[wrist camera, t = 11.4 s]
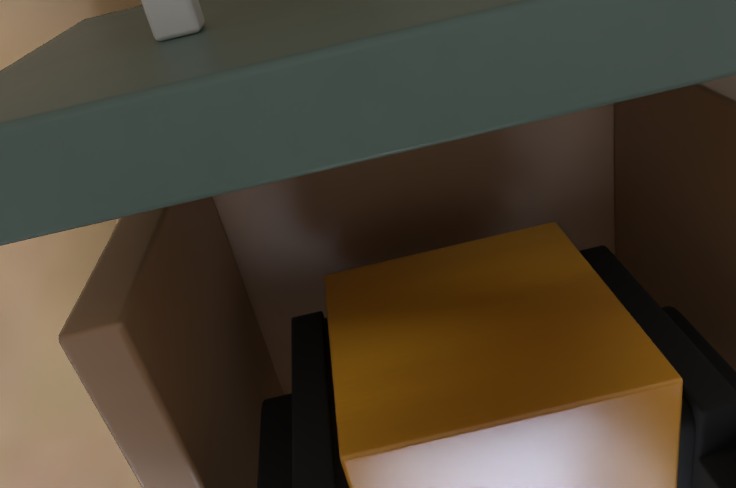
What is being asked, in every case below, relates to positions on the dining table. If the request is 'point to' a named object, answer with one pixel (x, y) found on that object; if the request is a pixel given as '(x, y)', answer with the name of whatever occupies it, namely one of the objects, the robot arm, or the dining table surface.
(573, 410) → the block
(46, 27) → the dining table surface
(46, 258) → the dining table surface
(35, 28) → the dining table surface
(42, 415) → the dining table surface
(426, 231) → the drawer
